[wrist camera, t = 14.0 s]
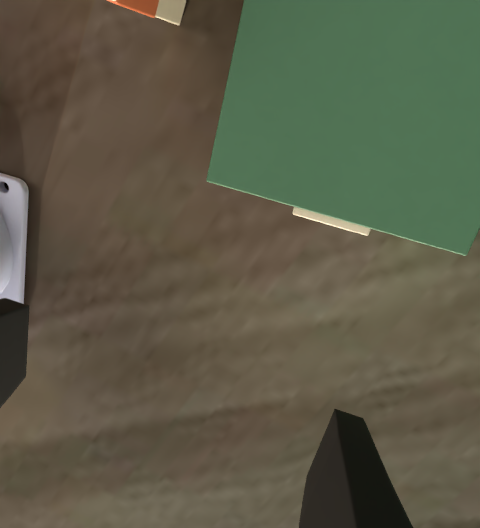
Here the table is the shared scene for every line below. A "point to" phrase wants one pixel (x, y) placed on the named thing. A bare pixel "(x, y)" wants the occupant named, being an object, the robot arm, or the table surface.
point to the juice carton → (156, 8)
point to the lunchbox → (358, 115)
